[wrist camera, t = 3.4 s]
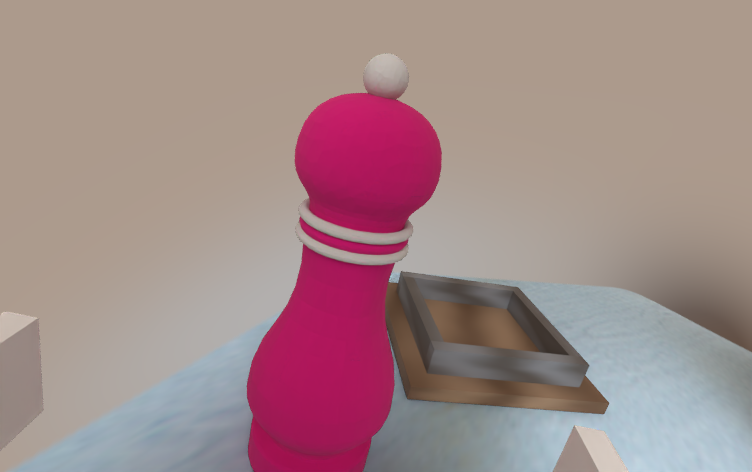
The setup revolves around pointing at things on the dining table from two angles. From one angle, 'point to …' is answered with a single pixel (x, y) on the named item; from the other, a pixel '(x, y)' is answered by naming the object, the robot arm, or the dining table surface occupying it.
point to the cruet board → (483, 347)
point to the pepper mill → (342, 279)
